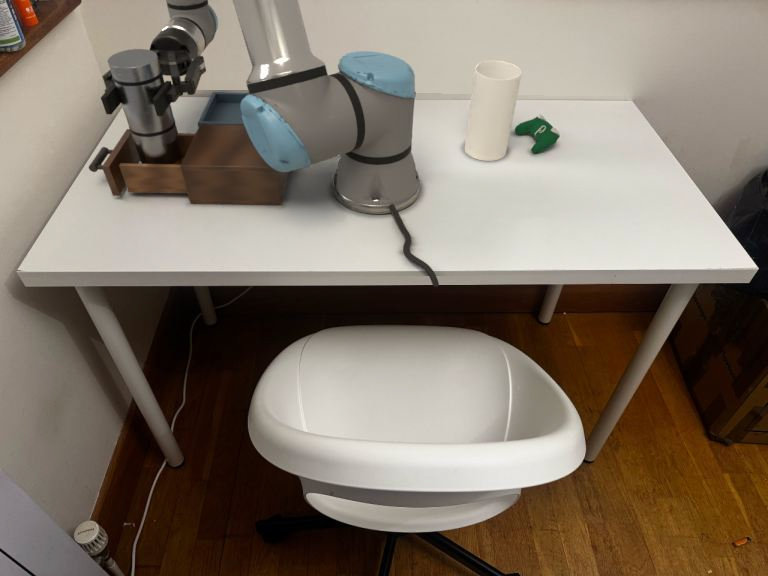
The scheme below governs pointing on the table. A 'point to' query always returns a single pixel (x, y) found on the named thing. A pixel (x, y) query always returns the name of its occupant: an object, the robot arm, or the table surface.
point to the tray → (223, 109)
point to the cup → (492, 109)
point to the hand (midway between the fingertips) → (131, 106)
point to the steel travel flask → (145, 106)
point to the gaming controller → (539, 132)
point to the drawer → (140, 168)
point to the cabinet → (229, 169)
